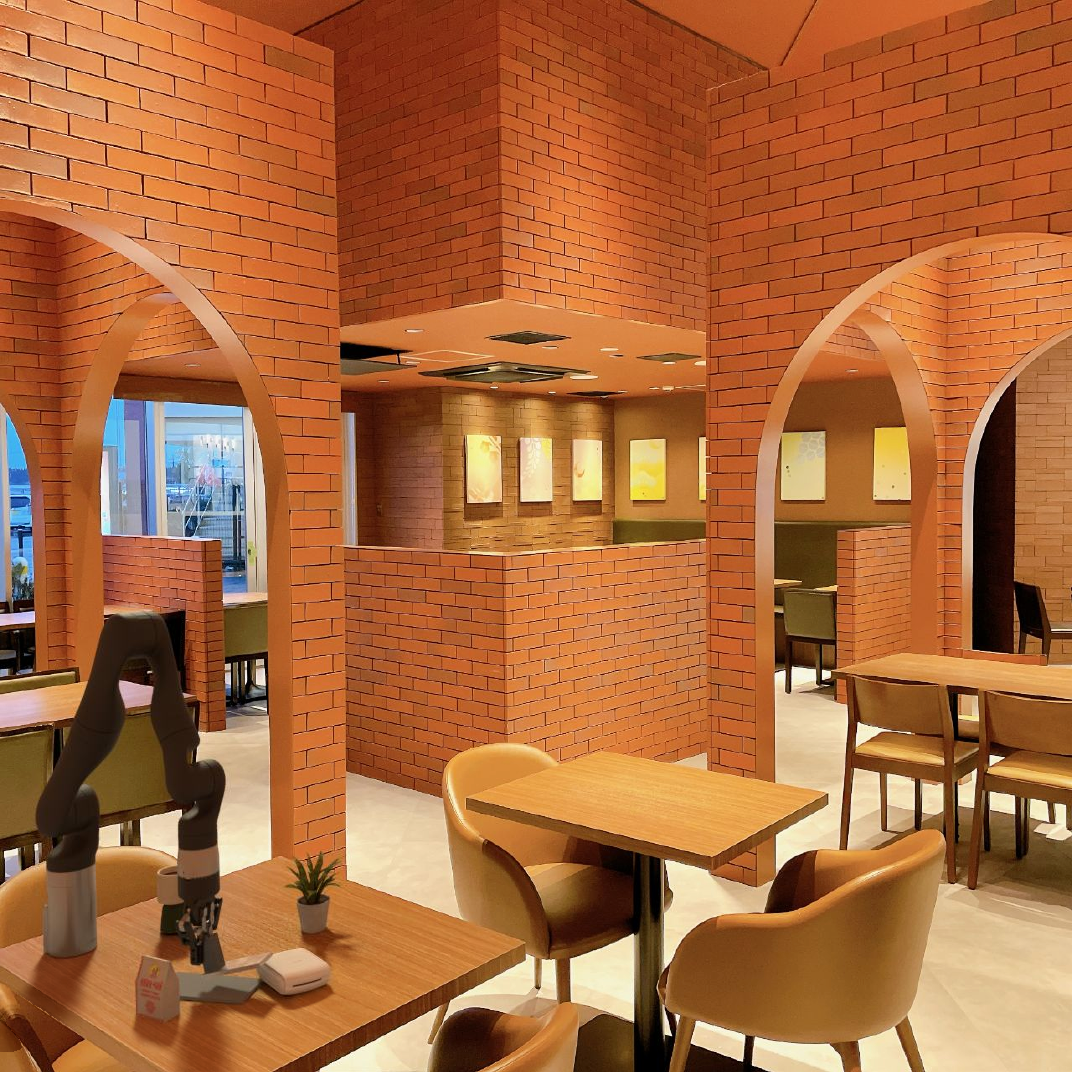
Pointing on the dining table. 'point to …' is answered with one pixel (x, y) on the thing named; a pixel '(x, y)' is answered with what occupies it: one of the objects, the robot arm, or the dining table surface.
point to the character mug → (169, 898)
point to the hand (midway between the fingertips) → (200, 960)
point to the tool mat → (216, 988)
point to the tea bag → (157, 989)
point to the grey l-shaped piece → (218, 966)
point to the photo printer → (294, 971)
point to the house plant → (313, 894)
